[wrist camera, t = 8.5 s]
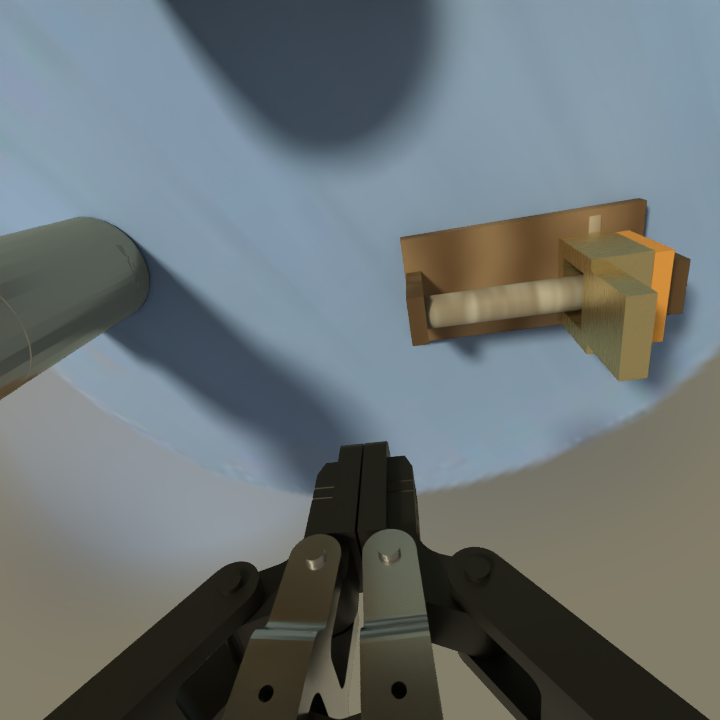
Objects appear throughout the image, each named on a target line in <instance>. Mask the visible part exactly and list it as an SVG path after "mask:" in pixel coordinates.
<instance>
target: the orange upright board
mask: <svg viewBox="0 0 720 720" xmlns="http://www.w3.org/2000/svg"><path fill="white" fill-rule="evenodd" d="M616 233H618V234H620V235H623V236H625V237H627V238H629V239H631V240H633V241H635V242H638V243H640V244H642V245H644V246H646V247H648V248H651V249H653V250H655V254H654V263H653V272H652V280H651V289H653V290H655V291H656V292H658V298H657V306H656V314H655V322H654V330H653V338H652V343H654V342H662V341H663V335H664V327H665V320H666V312H667V305H668V298H669V290H670V283H671V276H672V268H673V261H674V254H675V250H674V249H672V248H669V247H667V246H665V245H662V244H660V243H658V242H655V241H653V240H651V239H648V238H646V237H644V236H641V235H639V234H637V233H634V232H632V231H630V230H628V231H621V232H616Z"/></svg>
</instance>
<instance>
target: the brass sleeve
mask: <svg viewBox="0 0 720 720" xmlns="http://www.w3.org/2000/svg"><path fill="white" fill-rule="evenodd" d="M654 254H655V250H653V249H651V248H648V247H646V246H644V245H642V244H640V243H638V242H635V241H633V240H631V239H629V238H627V237H625V236H623V235H620V234H618V233H616V232H614V231H612V230H605V231H598V232H592V233H585V234H579V235H572V236H566V237H559V246H558V278H559V277H566V276H574V275H581V274H583V296H582V309H580V310H572V311H564V312H557V319H558V320H559V321H560V323H561V324H562V325H563V326H564V327H565V329H566V330H567V331H568V332H569V334H570V335H571V336H572V337H573V338H574V340H575V341H576V342H577V343H578V344H579V346H580V347H581V348H582V349H583V351H584V352H585V353H586V354H593V353H595V355H596V356H597V357H598V358H599V359H600V360H601V361H602V363H603V364H604V365H605V366H606V367H607V368H608V370H609V371H610V372H611V373H612V374H613V375H614V377H615V378H616V379H617V380H618V381H624V380H634V379H644V378H648V370H649V362H650V354H651V346H652V338H653V330H654V322H655V314H656V306H657V298H658V292H656V291H655V290H653V289H651V280H652V272H653V263H654Z"/></svg>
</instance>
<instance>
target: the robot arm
mask: <svg viewBox="0 0 720 720" xmlns="http://www.w3.org/2000/svg"><path fill="white" fill-rule="evenodd" d="M148 290H149V274H148V270H147V266H146V263H145V261H144V259H143V257H142V255H141V253H140V251H139V250H138V248H137V247H136V246H135V244H134V243H133V242H132V241H131V240H130V239H129V238H128V237H127V236H126V235H125V234H124V233H123V232H122V231H120V230H119V229H117V228H116V227H115V226H113V225H111V224H109V223H107V222H105V221H103V220H99V219H95V218H91V217H78V218H73V219H69V220H64V221H60V222H56V223H52V224H48V225H44V226H39V227H35V228H31V229H27V230H23V231H19V232H15V233H11V234H7V235H3V236H0V400H1V399H3V398H4V397H6V396H7V395H9V394H10V393H12V392H13V391H15V390H16V389H18V388H19V387H20V386H22V385H23V384H25V383H26V382H28V381H30V380H31V379H33V378H34V377H36V376H37V375H39V374H40V373H42V372H43V371H45V370H47V369H48V368H50V367H51V366H53V365H54V364H56V363H57V362H59V361H60V360H62V359H63V358H65V357H66V356H68V355H69V354H71V353H73V352H74V351H76V350H77V349H79V348H80V347H82V346H83V345H85V344H86V343H88V342H89V341H91V340H92V339H94V338H96V337H97V336H99V335H100V334H102V333H103V332H105V331H106V330H108V329H110V328H111V327H113V326H114V325H116V324H117V323H119V322H120V321H122V320H123V319H125V318H126V317H128V316H129V315H131V314H132V313H134V312H135V311H136V310H138V309H139V308H140V307H141V306H142V304H143V303H144V302H145V300H146V297H147V295H148ZM362 592H363V610H364V626H363V628H361V630H360V691H361V692H360V697H361V713H359V714H356V715H353V716H350V717H349V690H350V682H351V676H352V669H353V661H354V654H355V647H356V640H357V632H358V626H359V615H358V601H359V593H362ZM432 643H434V644H437V645H440V646H443V647H447V648H450V649H452V650H456V651H458V654H459V656H460V657H461V659H462V660H463V661H464V663H465V664H466V665H467V666H468V667H469V668H470V669H471V670H472V671H473V672H474V673H475V675H477V677H478V678H479V679H480V680H481V681H482V682H483V683H484V684H485V686H486V687H487V688H488V689H489V690H490V691H491V692H492V693H493V694H494V695H495V697H496V698H497V699H498V700H499V701H500V702H501V703H502V704H503V705H504V706H505V707H506V709H507V710H508V711H509V712H510V713H511V714H512V715H513V716H514V717H515V718H516V720H709V719H708V718H707V717H706V716H704V715H703V714H702V713H700V712H699V711H698V710H697V709H695V708H694V707H693V706H691V705H690V704H689V703H687V702H686V701H685V700H684V699H682V698H681V697H680V696H678V695H677V694H676V693H674V692H673V691H672V690H671V689H669V688H668V687H667V686H666V685H664V684H663V683H662V682H660V681H659V680H658V679H657V678H655V677H654V676H653V675H651V674H650V673H649V672H648V671H646V670H645V669H644V668H642V667H641V666H640V665H639V664H637V663H636V662H635V661H633V660H632V659H631V658H630V657H628V656H627V655H626V654H624V653H623V652H622V651H620V650H619V649H618V648H617V647H615V646H614V645H613V644H612V643H610V642H609V641H608V640H606V639H605V638H604V637H603V636H601V635H600V634H599V633H597V632H596V631H595V630H593V629H592V628H591V627H589V626H588V625H587V624H586V623H585V622H583V621H582V620H581V619H579V618H578V617H577V616H576V615H574V614H573V613H572V612H570V611H569V610H568V609H567V608H565V607H564V606H563V605H561V604H560V603H559V602H558V601H556V600H555V599H554V598H552V597H551V596H550V595H549V594H547V593H546V592H545V591H543V590H542V589H541V588H540V587H538V586H537V585H535V584H534V583H533V582H532V581H531V580H529V579H528V578H526V577H525V576H524V575H523V574H522V573H520V572H519V571H517V570H516V569H515V568H514V567H513V566H511V565H510V564H509V563H507V562H506V561H505V560H503V559H502V558H501V557H499V556H498V555H497V554H495V553H494V552H492V551H490V550H488V549H485V548H480V547H469V548H465V549H462V550H460V551H458V552H457V553H455V554H454V555H453V556H452V557H451V556H447V555H443V554H439V553H436V552H434V551H432V550H430V549H428V548H427V547H426V546H425V545H424V544H423V543H422V542H421V541H420V530H419V516H418V502H417V495H416V489H415V482H414V475H413V468H412V465H411V464H410V462H409V461H408V460H407V458H406V457H405V456H396V457H390V452H389V446H388V442H387V441H384V442H374V443H365V445H364V444H355V445H345V446H341V448H340V453H339V459H338V462H334V463H326V464H325V466H324V467H323V468H322V470H321V471H320V472H319V474H318V476H317V480H316V485H315V490H314V494H313V500H312V504H311V508H310V513H309V517H308V522H307V527H306V532H305V536H304V539H303V540H302V541H300V542H299V543H298V544H297V545H296V546H295V547H294V548H293V550H292V551H291V554H290V556H289V559H288V560H287V561H285V562H283V563H281V564H279V565H276V566H273V567H271V568H268V569H265V570H262V571H260V572H258V571H257V569H256V567H255V566H254V565H252V564H251V563H248V562H234V563H231V564H228V565H226V566H224V567H223V568H221V569H220V570H218V571H217V572H216V573H215V574H214V575H212V576H211V577H210V578H209V579H208V580H207V581H205V582H204V583H203V584H202V585H201V586H200V587H198V588H197V589H196V590H195V591H194V592H193V593H191V594H190V595H189V596H188V597H187V598H185V599H184V600H183V601H182V602H181V603H179V604H178V605H177V606H176V607H175V608H174V609H172V610H171V611H170V612H169V613H168V614H167V615H166V616H164V617H163V618H162V619H161V620H160V621H158V622H157V623H156V624H155V625H154V626H152V628H150V629H149V630H148V631H147V632H145V633H144V634H143V635H142V636H141V637H140V638H138V639H137V640H136V641H135V642H134V643H132V644H131V645H130V646H129V647H128V648H127V649H126V650H124V651H123V652H122V653H121V654H120V655H119V656H117V657H116V658H115V659H114V660H112V661H111V662H110V663H109V664H108V665H107V666H105V667H104V668H103V669H102V670H101V671H100V672H99V673H97V674H96V675H95V676H94V677H92V678H91V679H90V680H89V681H88V682H87V683H85V684H84V685H83V686H82V687H81V688H80V689H78V690H77V691H76V692H75V693H74V694H73V695H71V696H70V697H69V698H68V699H67V700H66V701H64V702H63V703H62V704H61V705H60V706H58V707H57V708H56V709H55V710H54V711H53V712H52V713H50V714H49V715H48V716H47V717H45V718H44V719H43V720H444V719H443V713H442V707H441V700H440V694H439V688H438V681H437V675H436V669H435V662H434V656H433V650H432ZM211 654H212V655H211ZM210 655H211V656H210ZM209 656H210V657H209ZM208 657H209V658H208ZM207 658H208V659H207ZM206 659H207V660H206Z"/></svg>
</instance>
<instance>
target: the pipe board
mask: <svg viewBox="0 0 720 720" xmlns="http://www.w3.org/2000/svg"><path fill="white" fill-rule="evenodd" d="M646 204H647V200H644V199H640V198H638V199H632V200H626V201H620V202H613V203H607V204H601V205H595V206H589V207H583V208H577V209H571V210H565V211H558V212H552V213H546V214H540V215H534V216H528V217H522V218H516V219H510V220H504V221H497V222H491V223H485V224H479V225H473V226H467V227H461V228H455V229H449V230H443V231H436V232H430V233H424V234H418V235H412V236H406V237H400V242H401V249H402V256H403V263H404V271H405V278H406V302H407V309H408V316H409V323H410V330H411V337H412V344H413V346H417V345H426V344H429V341H432V340H440V339H448V338H456V337H464V336H472V335H480V334H488V333H496V332H505V331H513V330H521V329H529V328H537V327H545V326H553V325H561V323H560V321H559V320H558V319H557V312H564V311H572V310H580V309H582V296H583V274H581V275H574V276H566V277H559V278H558V246H559V237H566V236H572V235H579V234H585V233H592V232H598V231H605V230H612V231H614V232H621V231H628V230H630V231H632V232H634V233H637V234H639V235H641V236H643V234H644V224H645V214H646ZM690 260H691V259H689V258H686V257H684V256H682V255H679V254H677V253H675V254H674V261H673V268H672V276H671V283H670V290H669V298H668V305H667V312H666V315H670V314H678V313H682V312H683V306H684V299H685V293H686V286H687V279H688V273H689V266H690Z"/></svg>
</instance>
